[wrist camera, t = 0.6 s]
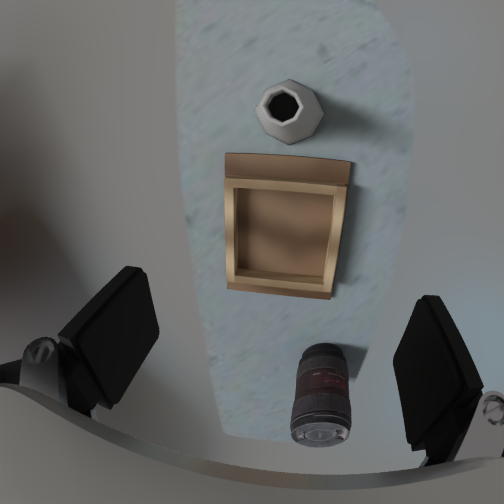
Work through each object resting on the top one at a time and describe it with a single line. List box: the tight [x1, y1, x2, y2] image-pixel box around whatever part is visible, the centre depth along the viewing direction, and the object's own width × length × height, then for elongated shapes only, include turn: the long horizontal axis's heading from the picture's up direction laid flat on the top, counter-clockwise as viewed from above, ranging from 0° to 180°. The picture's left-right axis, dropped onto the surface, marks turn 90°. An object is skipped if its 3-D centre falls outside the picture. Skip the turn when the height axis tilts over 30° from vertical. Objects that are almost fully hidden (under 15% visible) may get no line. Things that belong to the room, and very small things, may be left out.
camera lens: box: [290, 343, 351, 447], centre depth 35 cm, size 8×8×15 cm
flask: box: [254, 79, 324, 145], centre depth 23 cm, size 7×7×10 cm
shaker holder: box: [224, 153, 351, 300], centre depth 33 cm, size 18×14×3 cm
